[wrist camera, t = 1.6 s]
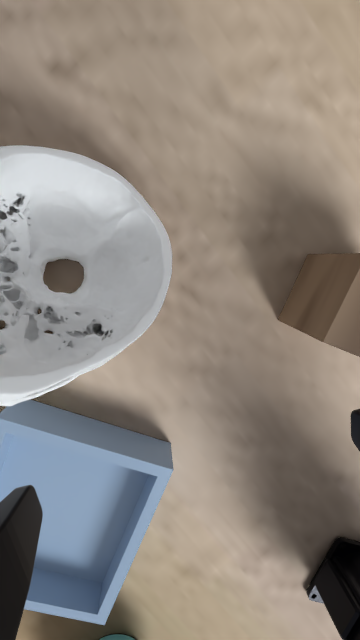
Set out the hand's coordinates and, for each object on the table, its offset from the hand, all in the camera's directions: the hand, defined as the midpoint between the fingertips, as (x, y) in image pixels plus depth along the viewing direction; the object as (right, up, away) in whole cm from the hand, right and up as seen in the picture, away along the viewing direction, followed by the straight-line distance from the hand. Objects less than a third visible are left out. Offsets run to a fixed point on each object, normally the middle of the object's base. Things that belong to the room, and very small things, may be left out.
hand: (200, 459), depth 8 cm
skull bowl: (-9, +6, +12) cm, 16 cm away
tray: (-9, -10, +15) cm, 20 cm away
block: (+10, +5, +14) cm, 18 cm away
